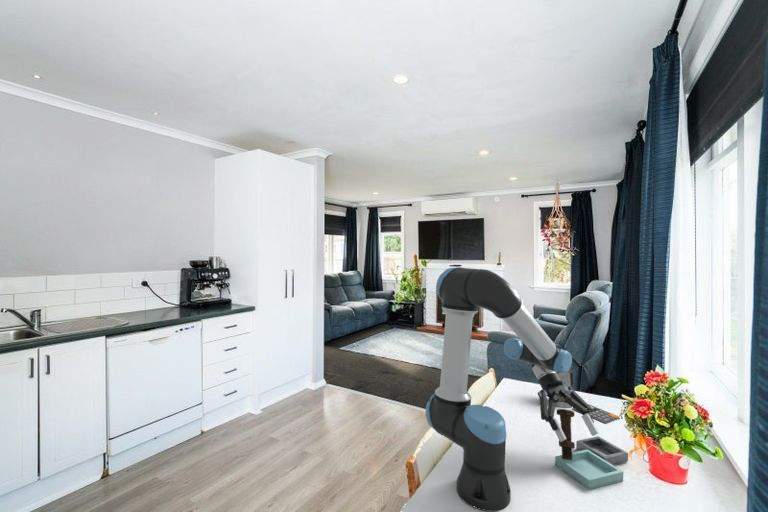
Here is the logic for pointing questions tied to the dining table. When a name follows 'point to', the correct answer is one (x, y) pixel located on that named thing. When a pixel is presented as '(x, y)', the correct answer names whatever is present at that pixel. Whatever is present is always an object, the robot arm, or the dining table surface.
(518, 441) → the dining table surface
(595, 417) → the calculator
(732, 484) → the dining table surface
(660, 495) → the dining table surface
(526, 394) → the dining table surface
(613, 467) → the tray
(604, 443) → the square frame
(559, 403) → the coffee box
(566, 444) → the bolt
